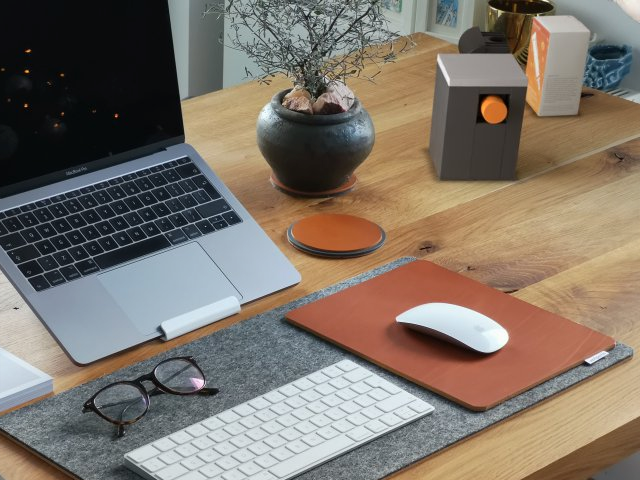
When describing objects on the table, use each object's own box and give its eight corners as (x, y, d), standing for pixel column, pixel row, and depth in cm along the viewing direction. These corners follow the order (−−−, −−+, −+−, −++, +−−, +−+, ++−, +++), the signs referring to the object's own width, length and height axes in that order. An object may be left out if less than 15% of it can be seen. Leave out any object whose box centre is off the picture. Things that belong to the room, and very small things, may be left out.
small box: (521, 97, 174) (532, 15, 167) (560, 96, 174) (573, 14, 168) (537, 117, 167) (549, 31, 160) (578, 115, 168) (592, 30, 161)
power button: (501, 116, 144) (504, 94, 143) (505, 123, 142) (508, 101, 141) (478, 116, 144) (481, 94, 143) (482, 123, 142) (484, 101, 141)
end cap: (455, 65, 187) (459, 25, 184) (498, 66, 187) (503, 26, 183) (461, 85, 179) (466, 44, 175) (506, 86, 178) (511, 45, 175)
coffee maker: (499, 150, 156) (512, 53, 149) (514, 180, 148) (528, 79, 140) (428, 150, 156) (437, 53, 149) (439, 180, 148) (449, 79, 140)
